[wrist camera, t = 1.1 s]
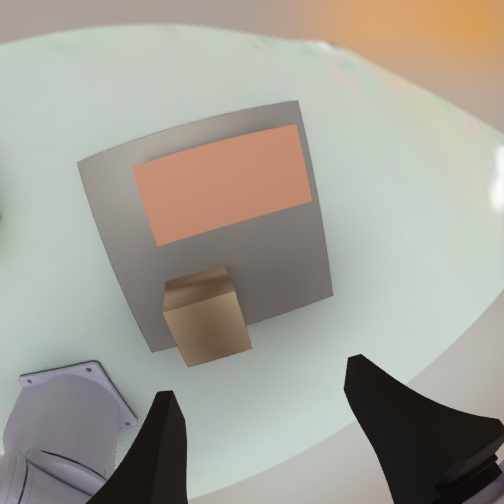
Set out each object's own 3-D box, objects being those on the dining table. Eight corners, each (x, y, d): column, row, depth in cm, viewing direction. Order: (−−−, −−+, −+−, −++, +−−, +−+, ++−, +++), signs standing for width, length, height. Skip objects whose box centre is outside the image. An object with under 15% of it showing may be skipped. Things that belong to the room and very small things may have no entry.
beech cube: (185, 331, 21) (187, 367, 17) (165, 281, 19) (162, 312, 16) (240, 315, 21) (252, 348, 18) (224, 263, 20) (234, 291, 16)
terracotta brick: (162, 226, 18) (157, 246, 14) (143, 163, 17) (132, 167, 13) (287, 190, 19) (312, 201, 15) (273, 128, 18) (296, 124, 14)
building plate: (152, 344, 22) (151, 352, 21) (81, 161, 17) (76, 162, 16) (327, 289, 23) (333, 295, 22) (292, 102, 18) (297, 100, 17)
